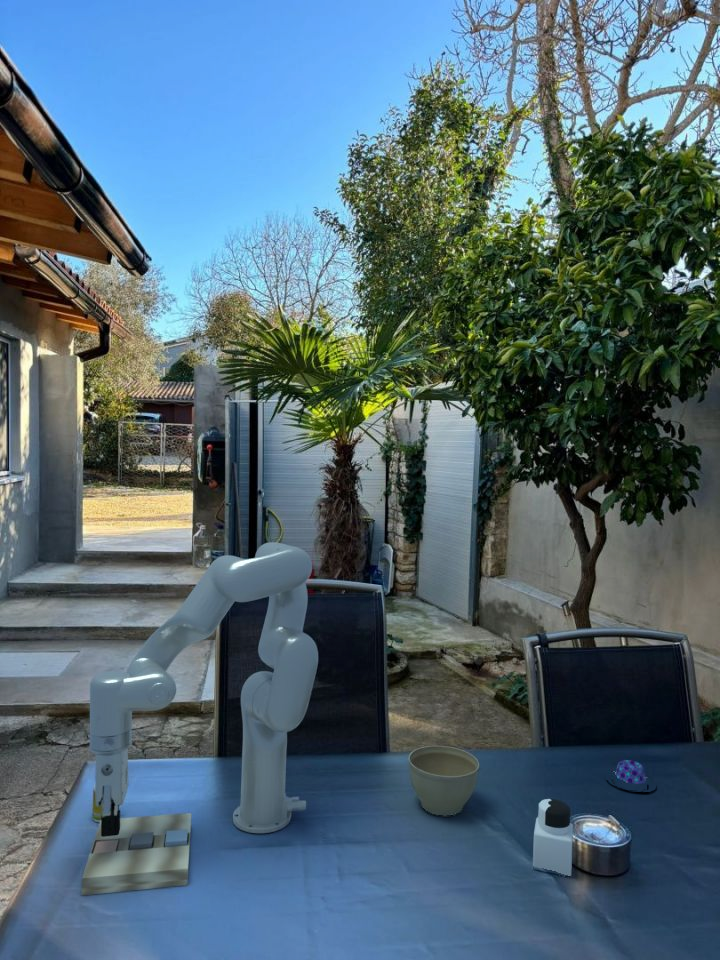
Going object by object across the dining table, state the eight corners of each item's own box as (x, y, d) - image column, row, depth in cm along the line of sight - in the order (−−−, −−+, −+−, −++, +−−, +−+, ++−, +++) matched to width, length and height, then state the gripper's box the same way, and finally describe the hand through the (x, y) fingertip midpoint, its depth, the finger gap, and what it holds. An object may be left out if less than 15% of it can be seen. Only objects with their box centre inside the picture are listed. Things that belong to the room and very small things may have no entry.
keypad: (190, 827, 138) (191, 812, 138) (187, 885, 119) (188, 868, 119) (100, 834, 134) (100, 819, 134) (81, 895, 115) (81, 878, 115)
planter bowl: (397, 815, 146) (399, 766, 146) (418, 785, 161) (420, 740, 161) (468, 832, 140) (470, 781, 140) (483, 799, 155) (485, 753, 155)
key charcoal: (153, 839, 129) (153, 832, 129) (151, 851, 125) (151, 843, 125) (131, 841, 128) (132, 833, 128) (129, 853, 124) (129, 845, 124)
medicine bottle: (571, 858, 131) (573, 798, 131) (571, 878, 125) (573, 815, 125) (535, 850, 134) (537, 792, 134) (532, 870, 127) (534, 808, 127)
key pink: (118, 847, 127) (118, 839, 127) (115, 859, 123) (115, 851, 123) (96, 849, 126) (96, 841, 126) (92, 861, 122) (93, 853, 122)
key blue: (187, 836, 130) (187, 829, 130) (186, 848, 126) (186, 840, 126) (166, 838, 129) (166, 831, 129) (165, 849, 125) (165, 842, 125)
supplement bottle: (109, 825, 138) (111, 779, 138) (86, 821, 139) (88, 775, 139) (123, 812, 143) (125, 768, 143) (101, 809, 144) (103, 765, 144)
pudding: (664, 797, 160) (664, 776, 160) (613, 794, 160) (614, 773, 160) (645, 775, 171) (646, 755, 171) (599, 772, 172) (599, 752, 172)
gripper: (126, 753, 119) (126, 853, 119) (136, 722, 133) (135, 811, 133) (82, 757, 117) (82, 858, 117) (96, 725, 131) (96, 815, 132)
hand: (110, 833), depth 125 cm, fingers closed
